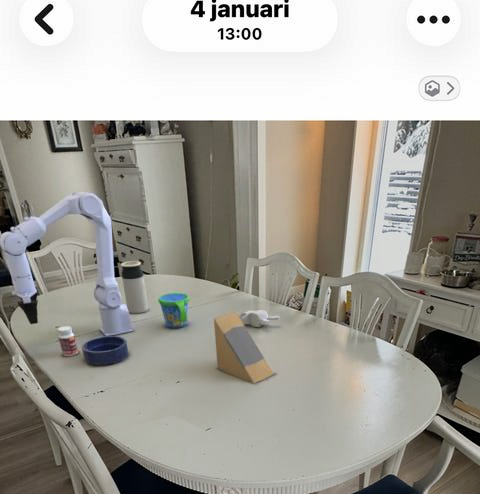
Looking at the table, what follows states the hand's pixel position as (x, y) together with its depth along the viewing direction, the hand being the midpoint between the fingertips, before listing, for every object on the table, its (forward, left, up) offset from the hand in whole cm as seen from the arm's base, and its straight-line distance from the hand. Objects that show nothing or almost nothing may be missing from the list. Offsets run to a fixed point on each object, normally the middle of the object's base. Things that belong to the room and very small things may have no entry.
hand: (34, 319), depth 148 cm
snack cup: (-46, +4, -10) cm, 47 cm away
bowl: (-16, +19, -10) cm, 27 cm away
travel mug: (-40, -21, -10) cm, 47 cm away
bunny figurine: (-70, +21, -10) cm, 74 cm away
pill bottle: (-7, +9, -10) cm, 15 cm away
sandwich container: (-47, +52, -10) cm, 71 cm away
